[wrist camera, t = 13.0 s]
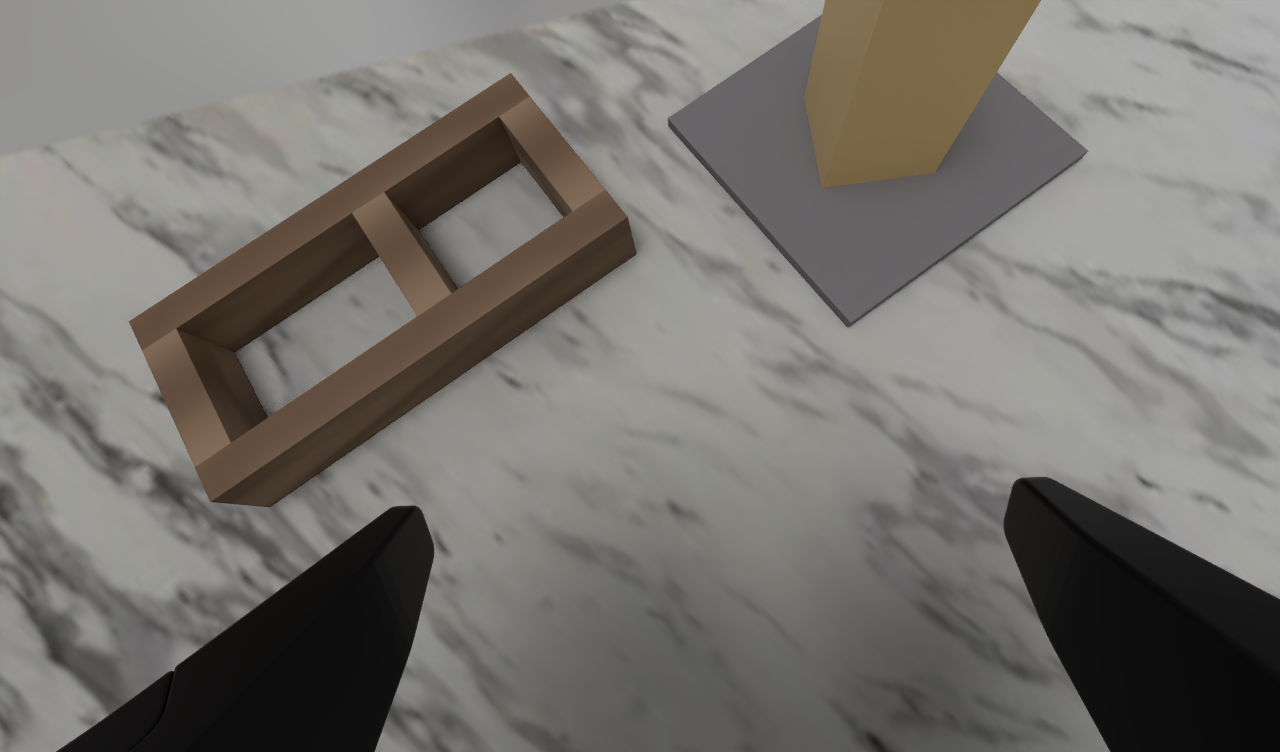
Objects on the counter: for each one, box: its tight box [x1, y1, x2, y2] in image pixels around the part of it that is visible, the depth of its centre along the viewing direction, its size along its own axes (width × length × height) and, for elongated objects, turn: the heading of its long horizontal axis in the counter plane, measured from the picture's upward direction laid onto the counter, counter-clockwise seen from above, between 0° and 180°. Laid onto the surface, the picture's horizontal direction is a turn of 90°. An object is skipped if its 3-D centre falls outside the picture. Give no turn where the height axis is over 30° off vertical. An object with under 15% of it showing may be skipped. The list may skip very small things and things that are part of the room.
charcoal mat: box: [668, 15, 1088, 327], centre depth 26 cm, size 12×12×1 cm
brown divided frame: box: [129, 73, 636, 507], centre depth 25 cm, size 8×18×3 cm, turn 125°
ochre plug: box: [804, 0, 1041, 188], centre depth 21 cm, size 4×4×9 cm
